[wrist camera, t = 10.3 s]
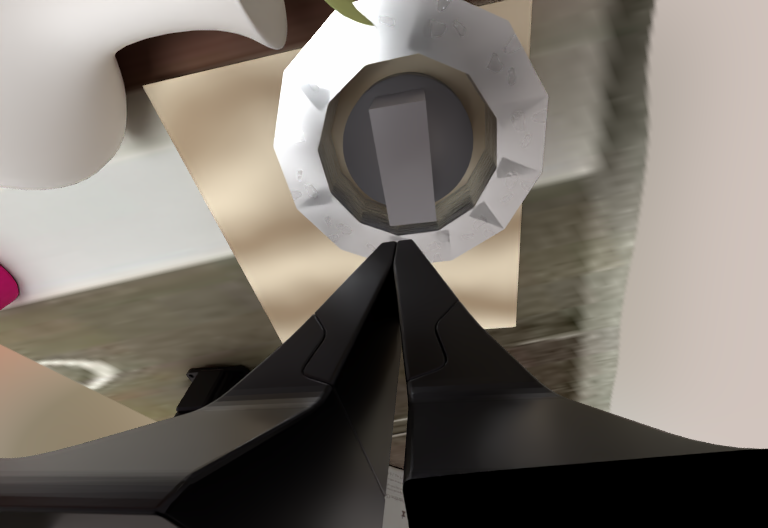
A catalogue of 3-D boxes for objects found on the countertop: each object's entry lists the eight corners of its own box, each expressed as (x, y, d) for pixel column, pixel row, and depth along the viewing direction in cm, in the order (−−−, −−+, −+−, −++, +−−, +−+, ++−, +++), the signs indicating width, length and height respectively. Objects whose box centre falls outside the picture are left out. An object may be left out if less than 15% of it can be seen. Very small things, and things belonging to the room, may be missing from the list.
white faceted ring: (520, 223, 20) (535, 251, 18) (331, 247, 22) (321, 274, 20) (534, -38, 13) (561, -51, 11) (259, 31, 15) (230, 33, 13)
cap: (470, 188, 19) (482, 227, 16) (361, 202, 20) (350, 241, 17) (467, 60, 15) (483, 71, 12) (334, 84, 16) (312, 102, 13)
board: (511, 315, 26) (515, 326, 25) (287, 333, 29) (283, 344, 28) (524, -5, 15) (532, -6, 14) (156, 82, 18) (142, 85, 17)
